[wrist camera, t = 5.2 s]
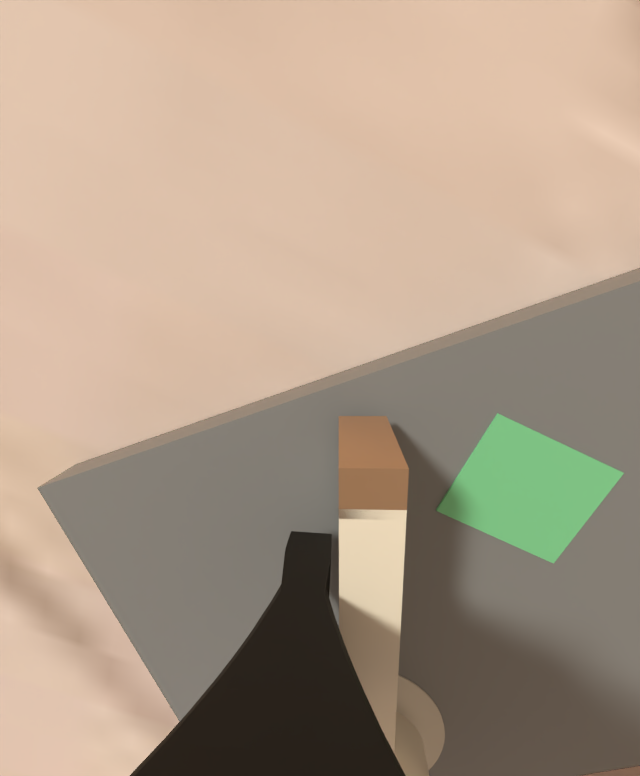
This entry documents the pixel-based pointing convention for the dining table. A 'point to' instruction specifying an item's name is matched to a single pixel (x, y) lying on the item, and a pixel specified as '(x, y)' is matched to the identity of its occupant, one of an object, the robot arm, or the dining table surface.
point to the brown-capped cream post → (375, 572)
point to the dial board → (416, 532)
